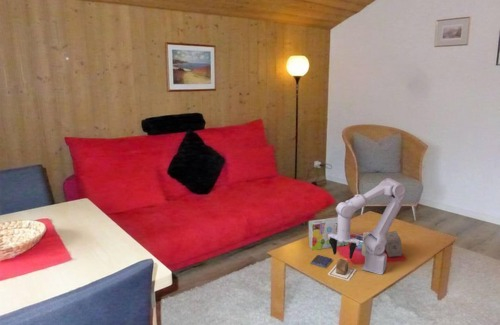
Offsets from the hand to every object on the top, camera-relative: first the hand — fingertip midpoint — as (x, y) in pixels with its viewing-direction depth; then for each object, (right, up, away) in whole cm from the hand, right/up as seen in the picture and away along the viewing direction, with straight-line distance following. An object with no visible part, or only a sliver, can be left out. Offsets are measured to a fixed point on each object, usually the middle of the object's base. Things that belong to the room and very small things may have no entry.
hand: (342, 255), depth 171 cm
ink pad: (-8, -6, +12) cm, 15 cm away
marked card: (0, -8, +2) cm, 9 cm away
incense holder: (+30, -4, +19) cm, 35 cm away
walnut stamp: (0, -8, +2) cm, 8 cm away
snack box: (-1, -2, +29) cm, 29 cm away
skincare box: (+18, -4, +17) cm, 25 cm away
